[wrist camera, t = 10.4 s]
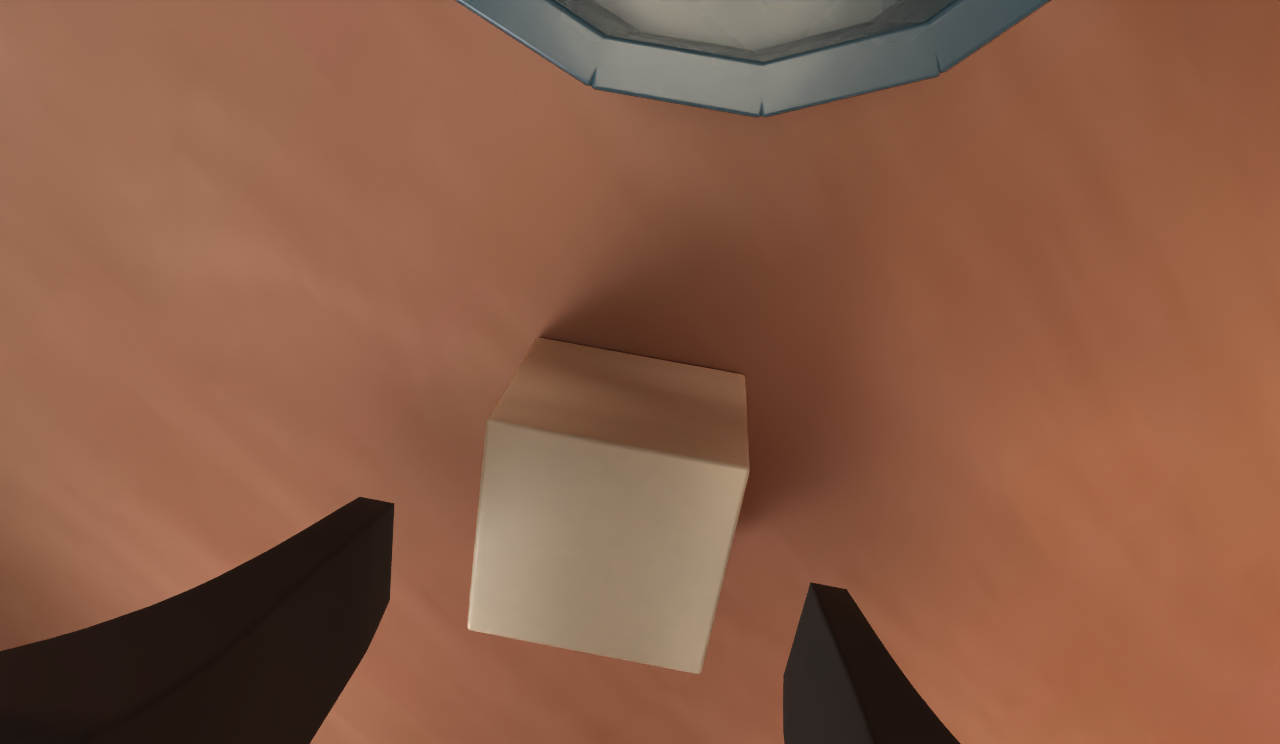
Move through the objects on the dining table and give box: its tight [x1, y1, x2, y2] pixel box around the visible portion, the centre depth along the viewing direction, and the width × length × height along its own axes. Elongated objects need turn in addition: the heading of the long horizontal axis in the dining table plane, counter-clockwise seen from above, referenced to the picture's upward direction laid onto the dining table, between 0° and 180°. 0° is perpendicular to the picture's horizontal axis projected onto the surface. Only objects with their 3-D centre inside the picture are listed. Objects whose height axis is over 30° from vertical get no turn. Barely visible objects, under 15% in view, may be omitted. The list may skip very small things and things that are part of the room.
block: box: [467, 338, 750, 674], centre depth 17 cm, size 5×5×4 cm
